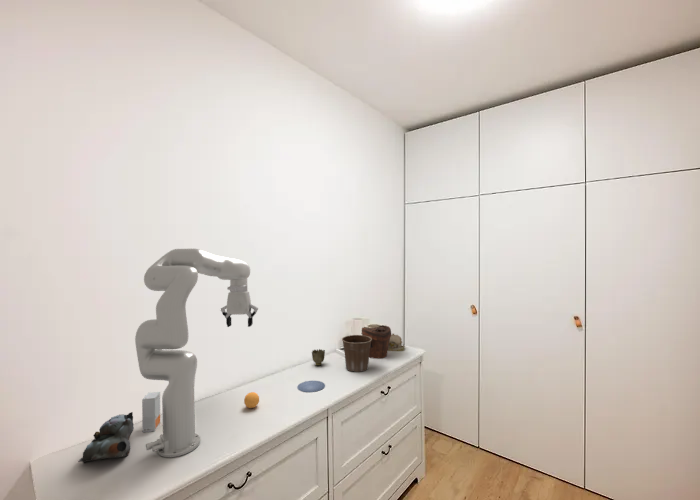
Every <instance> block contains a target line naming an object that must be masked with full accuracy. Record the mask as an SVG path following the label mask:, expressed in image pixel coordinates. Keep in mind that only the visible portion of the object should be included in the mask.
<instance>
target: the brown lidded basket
mask: <svg viewBox="0 0 700 500" xmlns="http://www.w3.org/2000/svg"><path fill="white" fill-rule="evenodd" d="M391 330H392V329H391V327H390V326H387V325H385V324H384V325H383V324H382V325H380V326H376V327H370V328H369V327H362V328H361V334H360V335H364V336H368V337H370V338H372V341H371V346H370V351H369V359H384V358H386V357H387V356H388V352H389V351H388V346H389V341H390V337H391V335H392V331H391Z"/></svg>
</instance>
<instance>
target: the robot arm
mask: <svg viewBox="0 0 700 500" xmlns="http://www.w3.org/2000/svg"><path fill="white" fill-rule="evenodd" d="M199 274H201V275H205V276H209V277H217V278H218V279H219V280H223V281H229V286H227V290H228V291H229V292H228V293H227V294H228V295H227V299H226V305H225V306H223V307H221V308H220V309H221V310H220V312H221V313H222V315H223V316H224V318H225V319H226V321H225V322H226V327H227V328H229V327H231V326H232V317H231V316H232V315H238V316H239V315H241V316H242V315H246V316H247V317H248V318H247V327H248V328H250V327H252V325H253V317H254V316H255V315H256V314H257V312H258V310H259V307H257V306H255V305H253V304H252V303H251V301H252V300H251V296H250V292H249V291H248V278H249V277H250V275H251V267H250V265H249V264H248V263H247V262H245V261H243V260H240V259H238V258H237V259H236V258H230V257H226V256H222V255H218V254H213V253H211V252H208V251H205V250H203V249H200V248H174V249H172V250H170V251H168V252H166V253H165V254H164V255H162V256H161V257H160V258H159V259H158V260H156V261H155V262H154V263H153V264H151V265H150V266H149V267H148V268H147V269H146V271H145V273H144V277H143V282H144V286H146V287H145V288H147V289H149V290H151V291H153V292H163V293H162V294H161V296H160V298H158V301H157V303H156V304H155V305H156V306H155V316H156V319H148V320H145V321H143V322H142V323H140V325H139V326H138V328H137V329H136V333H135V337H134V341H135V350H136V357H137V363H138V367H139V371H140V375H141V376H142V378H144V379H146V380H153V381H167V382H168V384H167V386H166V387H165V389H164V391H163V393H162V395H161V398H162V399H161V405H162V434H160V436H159V438H157V439H156V440H155V441H151V442H148V443H146V444H145V450H146V451H149V450H152V452H156V451H157V454H158V455H159V456H161V457H163V458H175V457H176V458H177V457H180V456H183V455H186V454H188V453H190V452H192V451H194V450H195V449H196V448H197V447H198V446H199V445H200V443H201V436H200V434H198V433H197V432H196V415H195V414H196V413H195V411H196V409H195V407H196V406H195V401H196V400H195V382H196V373H197V368H198V358H197V356H196V355H195V354H194V353H193V352H191V351H187V350H180V349H182V348H184V347H185V346H186V345H187V344H188V342H189V328H188V327H189V326H188V321H187V320H188V319H187V310H186V306H187V305H186V304H187V301H188V298H189V296H190V294H191V292H192V291H193V289H194V288H195V287H196V285H197V282H198V281H199V280H198V278H199ZM252 310H253V311H252ZM251 311H252V312H251Z"/></svg>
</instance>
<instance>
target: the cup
mask: <svg viewBox="0 0 700 500" xmlns="http://www.w3.org/2000/svg"><path fill="white" fill-rule="evenodd" d="M325 354H326V350H325V349H320V348H319V349H313V350H312V351H311V357H312V361H313V362H314V365H315V366H317V367H320V366H322V364H323V362H324V360H325Z"/></svg>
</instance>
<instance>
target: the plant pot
mask: <svg viewBox="0 0 700 500" xmlns="http://www.w3.org/2000/svg"><path fill="white" fill-rule="evenodd" d="M371 341H372V338H370V337H368V336H364V335H362V334H352V335H351V334H350V335H346V336H343V337H342V338H341V342H342V346H343V350H344V360H345V361H344V363H345V369H346V370H347V371H349V372H354V373H362V372H366V371H367V370H368V369H369V362H370V361H369V360H370V357H369V351H370V346H371Z"/></svg>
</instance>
